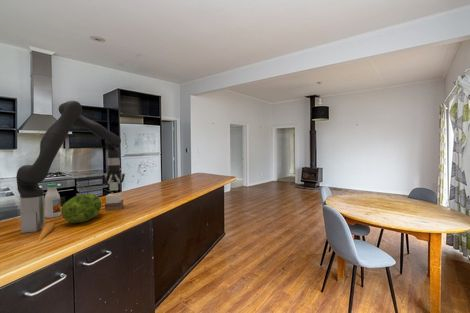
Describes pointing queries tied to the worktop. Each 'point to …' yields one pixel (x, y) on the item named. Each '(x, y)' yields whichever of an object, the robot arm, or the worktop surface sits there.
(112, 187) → the cube
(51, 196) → the milk bottle
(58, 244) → the worktop surface
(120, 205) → the base block
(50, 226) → the carrot
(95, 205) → the lettuce
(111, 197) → the top block
